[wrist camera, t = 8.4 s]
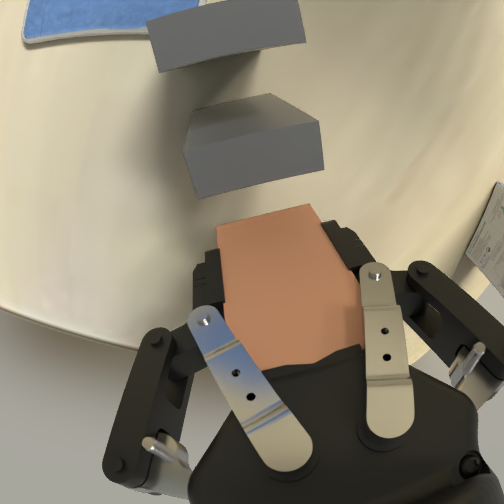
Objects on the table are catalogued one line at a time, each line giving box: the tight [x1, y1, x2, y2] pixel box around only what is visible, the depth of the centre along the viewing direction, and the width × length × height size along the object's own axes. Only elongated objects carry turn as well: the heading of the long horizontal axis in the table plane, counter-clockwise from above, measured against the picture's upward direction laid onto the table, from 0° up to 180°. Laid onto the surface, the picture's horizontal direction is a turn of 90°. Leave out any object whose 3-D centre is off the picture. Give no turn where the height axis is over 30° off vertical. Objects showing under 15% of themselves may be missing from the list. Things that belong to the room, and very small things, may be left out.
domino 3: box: [216, 204, 364, 373], centre depth 13 cm, size 2×5×9 cm, turn 102°
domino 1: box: [146, 0, 306, 73], centre depth 11 cm, size 2×5×9 cm, turn 101°
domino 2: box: [182, 93, 324, 199], centre depth 14 cm, size 2×5×9 cm, turn 101°
